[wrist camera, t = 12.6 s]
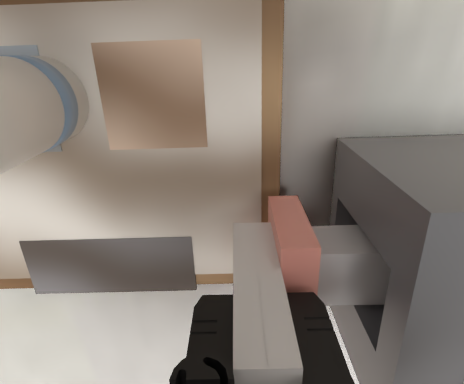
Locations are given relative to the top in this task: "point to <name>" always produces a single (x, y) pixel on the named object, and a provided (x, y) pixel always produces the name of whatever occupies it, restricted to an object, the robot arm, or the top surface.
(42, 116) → the pale blue cylinder
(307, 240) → the plunger
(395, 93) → the top surface
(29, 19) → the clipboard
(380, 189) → the box
